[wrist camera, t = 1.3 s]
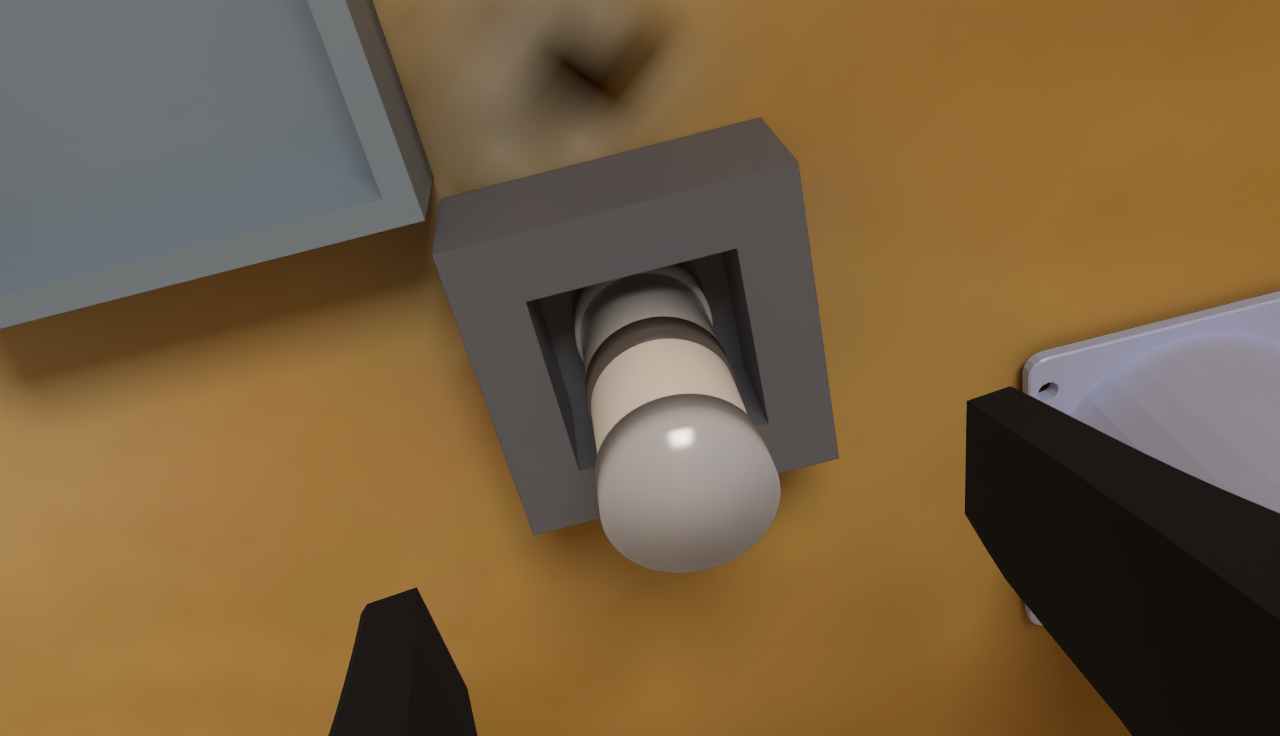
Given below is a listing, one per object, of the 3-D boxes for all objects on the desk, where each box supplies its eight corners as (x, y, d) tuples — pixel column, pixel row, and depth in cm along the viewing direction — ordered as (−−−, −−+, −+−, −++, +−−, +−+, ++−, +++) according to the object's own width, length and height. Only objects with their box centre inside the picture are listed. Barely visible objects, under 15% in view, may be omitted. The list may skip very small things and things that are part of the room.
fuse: (715, 350, 23) (792, 547, 17) (590, 382, 23) (622, 591, 17) (690, 235, 21) (766, 407, 15) (557, 268, 21) (579, 454, 15)
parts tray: (433, 177, 20) (424, 220, 18) (-28, 294, 20) (-91, 352, 18) (225, -422, 15) (179, -460, 13) (-392, -262, 15) (-541, -274, 13)
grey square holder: (802, 388, 24) (838, 458, 21) (530, 457, 24) (533, 535, 21) (760, 117, 20) (798, 162, 18) (441, 198, 20) (431, 255, 18)
